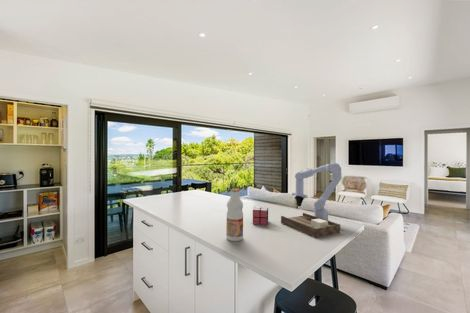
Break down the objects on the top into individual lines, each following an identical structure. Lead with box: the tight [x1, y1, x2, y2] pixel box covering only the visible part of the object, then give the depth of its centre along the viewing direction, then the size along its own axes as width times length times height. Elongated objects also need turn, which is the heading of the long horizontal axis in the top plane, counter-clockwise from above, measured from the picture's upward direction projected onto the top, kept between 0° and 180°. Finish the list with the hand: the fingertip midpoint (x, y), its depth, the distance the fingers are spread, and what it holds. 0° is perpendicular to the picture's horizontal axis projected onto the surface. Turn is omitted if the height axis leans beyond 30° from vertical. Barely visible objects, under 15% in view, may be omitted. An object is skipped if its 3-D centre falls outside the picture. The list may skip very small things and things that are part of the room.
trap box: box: [280, 212, 341, 239], centre depth 147 cm, size 21×31×5 cm
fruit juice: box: [225, 188, 244, 242], centre depth 126 cm, size 9×9×28 cm
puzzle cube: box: [252, 206, 269, 226], centre depth 157 cm, size 10×10×10 cm
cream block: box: [311, 219, 329, 228], centre depth 139 cm, size 7×7×4 cm
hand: (299, 206), depth 168 cm, fingers closed
